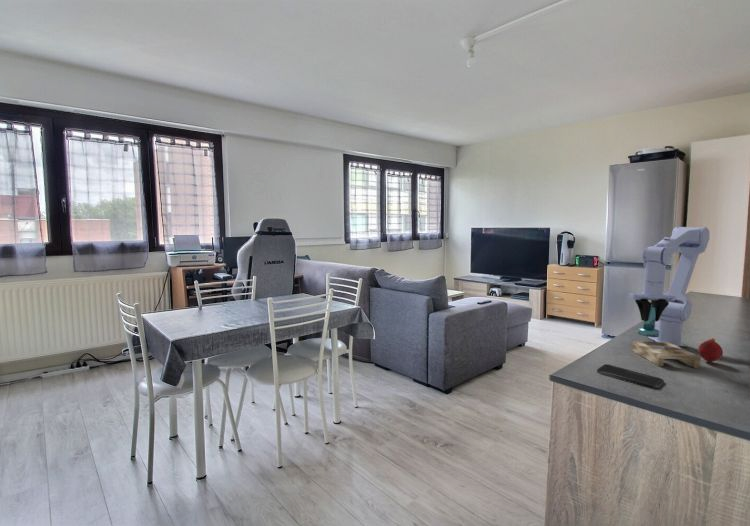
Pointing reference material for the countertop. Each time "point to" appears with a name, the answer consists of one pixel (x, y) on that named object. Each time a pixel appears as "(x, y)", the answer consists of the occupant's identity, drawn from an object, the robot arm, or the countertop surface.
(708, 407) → the countertop surface
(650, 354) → the beige wooden frame
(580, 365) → the countertop surface
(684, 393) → the countertop surface
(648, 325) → the peg
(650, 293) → the robot arm
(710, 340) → the onion
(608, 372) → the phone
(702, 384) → the countertop surface
